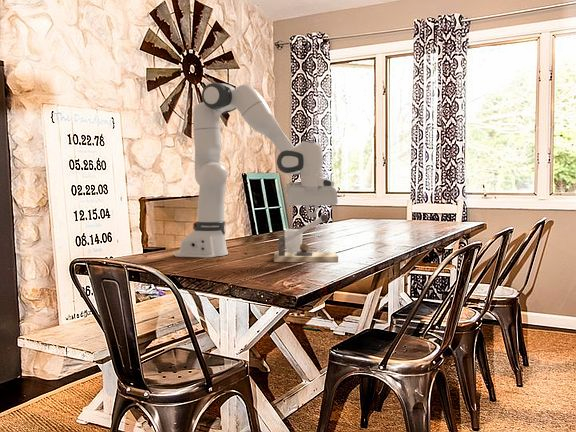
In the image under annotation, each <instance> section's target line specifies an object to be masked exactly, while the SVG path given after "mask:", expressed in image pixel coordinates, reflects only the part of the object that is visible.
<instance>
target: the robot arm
mask: <svg viewBox="0 0 576 432" xmlns="http://www.w3.org/2000/svg"><path fill="white" fill-rule="evenodd" d="M201 99H202V102H199V103H198V104H196V105H195V106H194V109H193V117H192V124H193V125H192V126H193V127H192V129H193V140H194V142H193V143H194V178H195V181H196V183H197V184H198V185H199V191H198V200H197V221H195V222H193V224H192V229H193V231H191V232H189V234H187V235H186V236H185V237H184V238H182V240H181V241H180V246H179V250H177V251H175V252H174V256H175V257H177V258H178V257H180V258H184V257H185V258H214V257H221V256H226V255H229V252H228V248H227V243H226V231H227V230H226V229H227V226H226V221H225V198H226V190H227V180H228V173H227V169H226V168H225V167H224V165H222V164H221V153H222V140H221V139H222V136H221V127H220V124H221V123H220V118H221V115H227V114H228V113H231V112H233V111H235V110H237V111H238V112H239V114H240V115H241V117H242V119H244V121H245V122H246V124H247V125H249V127H251V129H252V130H254V131H255V132H257V133H260V134H261V135H263V136H265V137H266V138H267V139H269V140H270V141H271V143H273V145H274V146H275V147H276V149H277V150H278V151H279V154H278V155H277V159H276V165H277V168H278V170H279V171H280V172H282V173H284V174H287V175H294V176H299V175H300V182H299V181H298V182H297V181H296V182H293V181H291V182H289V183H287V184H286V185H285V193H286V204H287V205H288V206H289V207H290V206H293V207H294V206H305V209H306V211H307V214H308V215H307V216H308V218H317V217H316V216H317V212H318V210H319V208H320V207H319V206H336V205H337V204H338V202H339V201H338V193H337V192H338V191H337V190H336V188H335V181H333V180H331V179H328V178H324V172H323V164H324V161H323V160H324V154H323V147H322V145H321V144H320V143H318V142H315V141H310V140H303V141H302V142H301V143H299V144H298V145H296V146H295V145H294V144H293V142H292V141H291V140H290V139H289V137H288V136H287V134H286V133H285V132H284V131H283V129H282V128H281V126H280V124H279V123H278V121H277V119H276V117H275V115H274V113H273V111H272V109H271V108H270V107H269V105H268V103H267V102H266V100H265V99H264V98H263V97H262V95H261V94H260V93H259V92H258V91H257V89H256V88H255V87H253V86H252V85H251V84H249V83H244V84H241V85H238V86H236V87H235V86H233V85H230V84H228V83H220V82H211V83H208V84H206V85H205V86H204V87H203V89H202V91H201ZM310 206H314V208H315V209H314V211H313V212H311V211H310V210H309V209H310Z"/></svg>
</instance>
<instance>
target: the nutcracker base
mask: <svg viewBox="0 0 576 432" xmlns="http://www.w3.org/2000/svg"><path fill="white" fill-rule="evenodd" d="M309 247H310V245H309V244H308V243H306V242H302V244H301V245H300V250H301V251H297V252H286V246H285V235H283V236H282V235H280V236H278V252H276V251H275V252H274V254H273V262H274V263H317V262H318V263H321V262H322V263H330V262H331V263H334V262H335V263H338V262H339V255H338V254H337V253H336V251H333V252H331V251H329V252H327V251H326V252H325V251H324V252H322V251H321V252H317V251H316V252H314V251H313V252H312V250H309Z"/></svg>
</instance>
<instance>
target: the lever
mask: <svg viewBox="0 0 576 432" xmlns="http://www.w3.org/2000/svg"><path fill="white" fill-rule="evenodd" d="M328 221H329V217H328V215H327V214H325V213H322V214H321V215H320V217H318V218H316V219H315V220H313V221H311V222H309V223H307V224H306V225H304V226H302V227H301V228H299V230H297V231H296V232H294V233H292V234H290V235H289V236H287V237H285V243H286V242H288V241H289V240H291V239H293V238H295V237H296V236H298V235H300V234H302V235H303V233H305V232H307V231H309V230H310V229H312V228H313V227H315V226H317V225H319V224H321V223H322V222H328Z"/></svg>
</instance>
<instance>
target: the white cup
mask: <svg viewBox="0 0 576 432" xmlns="http://www.w3.org/2000/svg"><path fill="white" fill-rule="evenodd" d="M299 229H300V228H299ZM299 229H298V228H288V229H287V228H286V229H284V231H283V232H284V236H285V237H287V236H289V235H290V234H292V233H294V232H296V231H297V230H299ZM302 243H303V233H302V234H300V235H298V236H296V237H295V238H293V239H291V240H289V241H288V242H286V243H285V252H297V251H301V250H300V245H301V244H302Z"/></svg>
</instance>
